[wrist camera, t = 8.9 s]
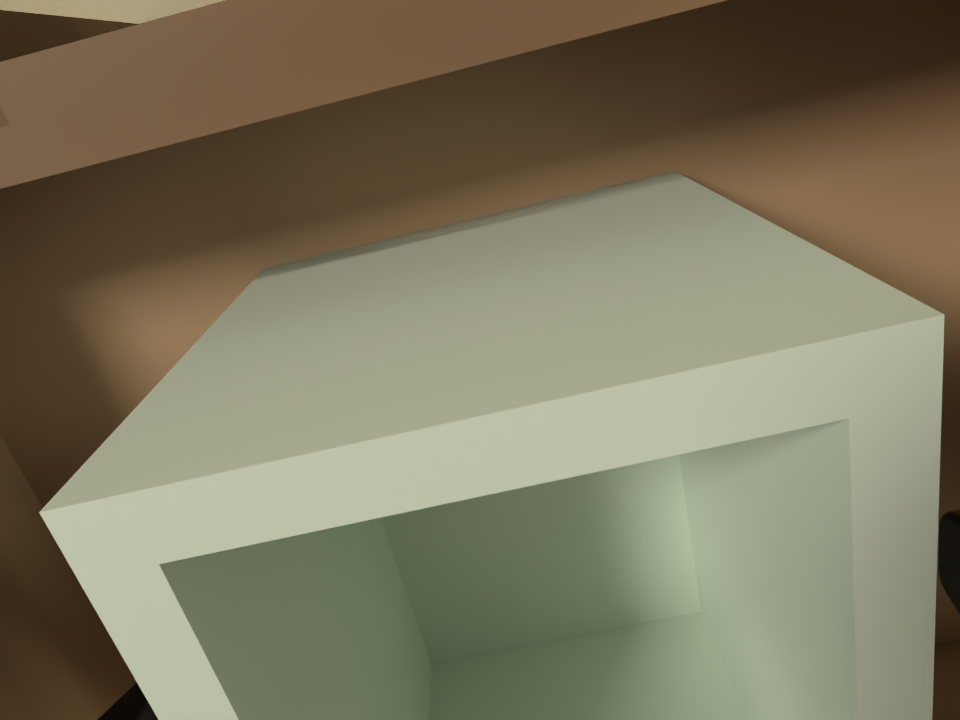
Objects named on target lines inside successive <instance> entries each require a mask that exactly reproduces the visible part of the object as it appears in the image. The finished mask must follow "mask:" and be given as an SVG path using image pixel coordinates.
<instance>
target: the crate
mask: <svg viewBox="0 0 960 720" xmlns="http://www.w3.org/2000/svg"><path fill="white" fill-rule="evenodd" d="M672 171H676V172H678V173H680V174H681V175H683V176H685V177H687V178H689V179H691V180H693V181H695V182H696V183H698V184H700V185H702V186H704V187H706V188H708V189H710V190H712V191H713V192H715V193H717V194H719V195H721V196H723V197H725V198H727V199H728V200H730V201H732V202H734V203H736V204H738V205H740V206H742V207H743V208H745V209H747V210H749V211H751V212H753V213H755V214H757V215H758V216H760V217H762V218H764V219H766V220H768V221H770V222H772V223H774V224H775V225H777V226H779V227H781V228H783V229H785V230H787V231H789V232H790V233H792V234H794V235H796V236H798V237H800V238H802V239H804V240H805V241H807V242H809V243H811V244H813V245H815V246H817V247H819V248H820V249H822V250H824V251H826V252H828V253H830V254H832V255H834V256H836V257H837V258H839V259H841V260H843V261H845V262H847V263H849V264H851V265H852V266H854V267H856V268H858V269H860V270H862V271H864V272H866V273H867V274H869V275H871V276H873V277H875V278H877V279H879V280H881V281H882V282H884V283H886V284H888V285H890V286H892V287H894V288H896V289H898V290H899V291H901V292H903V293H905V294H907V295H909V296H911V297H913V298H914V299H916V300H918V301H920V302H922V303H924V304H926V305H928V306H929V307H931V308H933V309H935V310H937V311H939V312H941V313H943V314H944V348H943V381H942V414H941V447H940V480H939V514H938V544H939V522H940V519H941V517H942V515H943V514H945V513H947V512H949V511H954V510H959V509H960V0H226V1H222V2H219V3H215V4H211V5H208V6H204V7H200V8H197V9H193V10H189V11H186V12H182V13H178V14H175V15H171V16H167V17H164V18H160V19H156V20H152V21H149V22H145V23H141V24H133V23H123V22H113V21H103V20H93V19H84V18H74V17H64V16H54V15H44V14H34V13H24V12H14V11H4V10H0V720H97V719H98V718H99V717H100V716H101V715H102V714H103V713H105V712H106V711H107V710H108V709H109V708H110V707H111V706H112V705H113V704H114V703H115V702H116V701H117V700H118V699H119V698H120V697H121V696H122V695H124V694H125V693H126V692H127V691H128V690H129V689H130V688H131V687H132V686H133V685H134V684H135V683H136V680H135V678H134V676H133V675H132V673H131V671H130V669H129V668H128V666H127V664H126V663H125V661H124V659H123V657H122V656H121V654H120V652H119V650H118V649H117V647H116V645H115V643H114V642H113V640H112V638H111V636H110V635H109V633H108V631H107V630H106V628H105V626H104V624H103V623H102V621H101V619H100V617H99V616H98V614H97V612H96V610H95V609H94V607H93V605H92V603H91V602H90V600H89V598H88V597H87V595H86V593H85V591H84V590H83V588H82V586H81V584H80V583H79V581H78V579H77V577H76V576H75V574H74V572H73V571H72V569H71V567H70V565H69V564H68V562H67V560H66V558H65V557H64V555H63V553H62V551H61V550H60V548H59V546H58V544H57V543H56V541H55V539H54V538H53V536H52V534H51V532H50V531H49V529H48V527H47V525H46V524H45V522H44V520H43V518H42V517H41V515H40V513H39V512H40V511H41V510H42V509H43V508H44V507H45V505H46V504H47V503H48V502H49V501H50V500H51V499H52V498H53V497H54V496H55V495H56V494H57V492H58V491H59V490H60V489H61V488H62V487H63V486H64V485H65V484H66V483H67V482H68V481H69V479H70V478H71V477H72V476H73V475H74V474H75V473H76V472H77V471H78V470H79V469H80V467H81V466H82V465H83V464H84V463H85V462H86V461H87V460H88V459H89V458H90V457H91V456H92V454H93V453H94V452H95V451H96V450H97V449H98V448H99V447H100V446H101V445H102V444H103V443H104V441H105V440H106V439H107V438H108V437H109V436H110V435H111V434H112V433H113V432H114V431H115V430H116V428H117V427H118V426H119V425H120V424H121V423H122V422H123V421H124V420H125V419H126V418H127V416H128V415H129V414H130V413H131V412H132V411H133V410H134V409H135V408H136V407H137V406H138V405H139V403H140V402H141V401H142V400H143V399H144V398H145V397H146V396H147V395H148V394H149V393H150V392H151V390H152V389H153V388H154V387H155V386H156V385H157V384H158V383H159V382H160V381H161V380H162V379H163V377H164V376H165V375H166V374H167V373H168V372H169V371H170V370H171V369H172V368H173V367H174V365H175V364H176V363H177V362H178V361H179V360H180V359H181V358H182V357H183V356H184V355H185V354H186V352H187V351H188V350H189V349H190V348H191V347H192V346H193V345H194V344H195V343H196V342H197V341H198V339H199V338H200V337H201V336H202V335H203V334H204V333H205V332H206V331H207V330H208V329H209V328H210V326H211V325H212V324H213V323H214V322H215V321H216V320H217V319H218V318H219V317H220V316H221V314H222V313H223V312H224V311H225V310H226V309H227V308H228V307H229V306H230V305H231V304H232V303H233V301H234V300H235V299H236V298H237V297H238V296H239V295H240V294H241V293H242V292H243V291H244V290H245V288H246V287H247V286H248V285H249V284H250V283H251V282H252V281H253V280H254V279H255V278H256V277H257V275H258V274H259V273H260V272H261V271H262V270H263V269H264V268H267V267H272V266H276V265H280V264H284V263H288V262H293V261H297V260H301V259H305V258H309V257H314V256H318V255H322V254H326V253H331V252H335V251H339V250H343V249H347V248H352V247H356V246H360V245H364V244H368V243H373V242H377V241H381V240H385V239H390V238H394V237H398V236H402V235H406V234H411V233H415V232H419V231H423V230H428V229H432V228H436V227H440V226H444V225H449V224H453V223H457V222H461V221H465V220H470V219H474V218H478V217H482V216H487V215H491V214H495V213H499V212H503V211H508V210H512V209H516V208H520V207H524V206H529V205H533V204H537V203H541V202H546V201H550V200H554V199H558V198H562V197H567V196H571V195H575V194H579V193H583V192H588V191H592V190H596V189H600V188H605V187H609V186H613V185H617V184H621V183H626V182H630V181H634V180H638V179H642V178H647V177H651V176H655V175H659V174H664V173H668V172H672ZM932 720H960V614H959V613H958V611H957V609H956V608H955V606H954V605H953V603H952V602H951V600H950V599H949V597H948V595H947V594H946V592H945V590H944V588H943V586H942V584H941V581H940V578H939V573H938V547H937V580H936V613H935V646H934V679H933V712H932Z"/></svg>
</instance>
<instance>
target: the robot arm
mask: <svg viewBox="0 0 960 720" xmlns="http://www.w3.org/2000/svg"><path fill="white" fill-rule="evenodd" d="M938 573H939V578H940V581H941V584H942V586H943V588H944V590H945V592H946V594H947V595H948V597H949V599H950V600H951V602H952V603H953V605H954V606H955V608H956V609H957V611H958V613H959V614H960V509H959V510H954V511H949V512H947V513H945V514H943V515H942V517H941V519H940V522H939V544H938ZM97 720H158V718H157V716H156V715H155V713H154V711H153V709H152V708H151V706H150V704H149V702H148V701H147V699H146V697H145V696H144V694H143V692H142V690H141V689H140V687H139V685H138V683H137V682H136V683H135V684H134V685H133V686H132V687H131V688H130V689H129V690H128V691H127V692H126V693H125V694H124V695H122V696H121V697H120V698H119V699H118V700H117V701H116V702H115V703H114V704H113V705H112V706H111V707H110V708H109V709H108V710H107V711H106V712H105V713H103V714H102V715H101V716H100V717H99V718H98V719H97Z"/></svg>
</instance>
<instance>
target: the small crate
mask: <svg viewBox="0 0 960 720" xmlns="http://www.w3.org/2000/svg"><path fill="white" fill-rule="evenodd" d="M943 348H944V314H943V313H941V312H939V311H937V310H935V309H933V308H931V307H929V306H928V305H926V304H924V303H922V302H920V301H918V300H916V299H914V298H913V297H911V296H909V295H907V294H905V293H903V292H901V291H899V290H898V289H896V288H894V287H892V286H890V285H888V284H886V283H884V282H882V281H881V280H879V279H877V278H875V277H873V276H871V275H869V274H867V273H866V272H864V271H862V270H860V269H858V268H856V267H854V266H852V265H851V264H849V263H847V262H845V261H843V260H841V259H839V258H837V257H836V256H834V255H832V254H830V253H828V252H826V251H824V250H822V249H820V248H819V247H817V246H815V245H813V244H811V243H809V242H807V241H805V240H804V239H802V238H800V237H798V236H796V235H794V234H792V233H790V232H789V231H787V230H785V229H783V228H781V227H779V226H777V225H775V224H774V223H772V222H770V221H768V220H766V219H764V218H762V217H760V216H758V215H757V214H755V213H753V212H751V211H749V210H747V209H745V208H743V207H742V206H740V205H738V204H736V203H734V202H732V201H730V200H728V199H727V198H725V197H723V196H721V195H719V194H717V193H715V192H713V191H712V190H710V189H708V188H706V187H704V186H702V185H700V184H698V183H696V182H695V181H693V180H691V179H689V178H687V177H685V176H683V175H681V174H680V173H678V172H676V171H672V172H668V173H664V174H659V175H655V176H651V177H647V178H642V179H638V180H634V181H630V182H626V183H621V184H617V185H613V186H609V187H605V188H600V189H596V190H592V191H588V192H583V193H579V194H575V195H571V196H567V197H562V198H558V199H554V200H550V201H546V202H541V203H537V204H533V205H529V206H524V207H520V208H516V209H512V210H508V211H503V212H499V213H495V214H491V215H487V216H482V217H478V218H474V219H470V220H465V221H461V222H457V223H453V224H449V225H444V226H440V227H436V228H432V229H428V230H423V231H419V232H415V233H411V234H406V235H402V236H398V237H394V238H390V239H385V240H381V241H377V242H373V243H368V244H364V245H360V246H356V247H352V248H347V249H343V250H339V251H335V252H331V253H326V254H322V255H318V256H314V257H309V258H305V259H301V260H297V261H293V262H288V263H284V264H280V265H276V266H272V267H267V268H264V269H263V270H262V271H261V272H260V273H259V274H258V275H257V277H256V278H255V279H254V280H253V281H252V282H251V283H250V284H249V285H248V286H247V287H246V288H245V290H244V291H243V292H242V293H241V294H240V295H239V296H238V297H237V298H236V299H235V300H234V301H233V303H232V304H231V305H230V306H229V307H228V308H227V309H226V310H225V311H224V312H223V313H222V314H221V316H220V317H219V318H218V319H217V320H216V321H215V322H214V323H213V324H212V325H211V326H210V328H209V329H208V330H207V331H206V332H205V333H204V334H203V335H202V336H201V337H200V338H199V339H198V341H197V342H196V343H195V344H194V345H193V346H192V347H191V348H190V349H189V350H188V351H187V352H186V354H185V355H184V356H183V357H182V358H181V359H180V360H179V361H178V362H177V363H176V364H175V365H174V367H173V368H172V369H171V370H170V371H169V372H168V373H167V374H166V375H165V376H164V377H163V379H162V380H161V381H160V382H159V383H158V384H157V385H156V386H155V387H154V388H153V389H152V390H151V392H150V393H149V394H148V395H147V396H146V397H145V398H144V399H143V400H142V401H141V402H140V403H139V405H138V406H137V407H136V408H135V409H134V410H133V411H132V412H131V413H130V414H129V415H128V416H127V418H126V419H125V420H124V421H123V422H122V423H121V424H120V425H119V426H118V427H117V428H116V430H115V431H114V432H113V433H112V434H111V435H110V436H109V437H108V438H107V439H106V440H105V441H104V443H103V444H102V445H101V446H100V447H99V448H98V449H97V450H96V451H95V452H94V453H93V454H92V456H91V457H90V458H89V459H88V460H87V461H86V462H85V463H84V464H83V465H82V466H81V467H80V469H79V470H78V471H77V472H76V473H75V474H74V475H73V476H72V477H71V478H70V479H69V481H68V482H67V483H66V484H65V485H64V486H63V487H62V488H61V489H60V490H59V491H58V492H57V494H56V495H55V496H54V497H53V498H52V499H51V500H50V501H49V502H48V503H47V504H46V505H45V507H44V508H43V509H42V510H41V511H40V512H39V513H40V515H41V517H42V518H43V520H44V522H45V524H46V525H47V527H48V529H49V531H50V532H51V534H52V536H53V538H54V539H55V541H56V543H57V544H58V546H59V548H60V550H61V551H62V553H63V555H64V557H65V558H66V560H67V562H68V564H69V565H70V567H71V569H72V571H73V572H74V574H75V576H76V577H77V579H78V581H79V583H80V584H81V586H82V588H83V590H84V591H85V593H86V595H87V597H88V598H89V600H90V602H91V603H92V605H93V607H94V609H95V610H96V612H97V614H98V616H99V617H100V619H101V621H102V623H103V624H104V626H105V628H106V630H107V631H108V633H109V635H110V636H111V638H112V640H113V642H114V643H115V645H116V647H117V649H118V650H119V652H120V654H121V656H122V657H123V659H124V661H125V663H126V664H127V666H128V668H129V669H130V671H131V673H132V675H133V676H134V678H135V680H136V682H137V683H138V685H139V687H140V689H141V690H142V692H143V694H144V696H145V697H146V699H147V701H148V702H149V704H150V706H151V708H152V709H153V711H154V713H155V715H156V716H157V718H158V720H932V712H933V679H934V646H935V613H936V580H937V547H938V514H939V480H940V447H941V414H942V381H943Z"/></svg>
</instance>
